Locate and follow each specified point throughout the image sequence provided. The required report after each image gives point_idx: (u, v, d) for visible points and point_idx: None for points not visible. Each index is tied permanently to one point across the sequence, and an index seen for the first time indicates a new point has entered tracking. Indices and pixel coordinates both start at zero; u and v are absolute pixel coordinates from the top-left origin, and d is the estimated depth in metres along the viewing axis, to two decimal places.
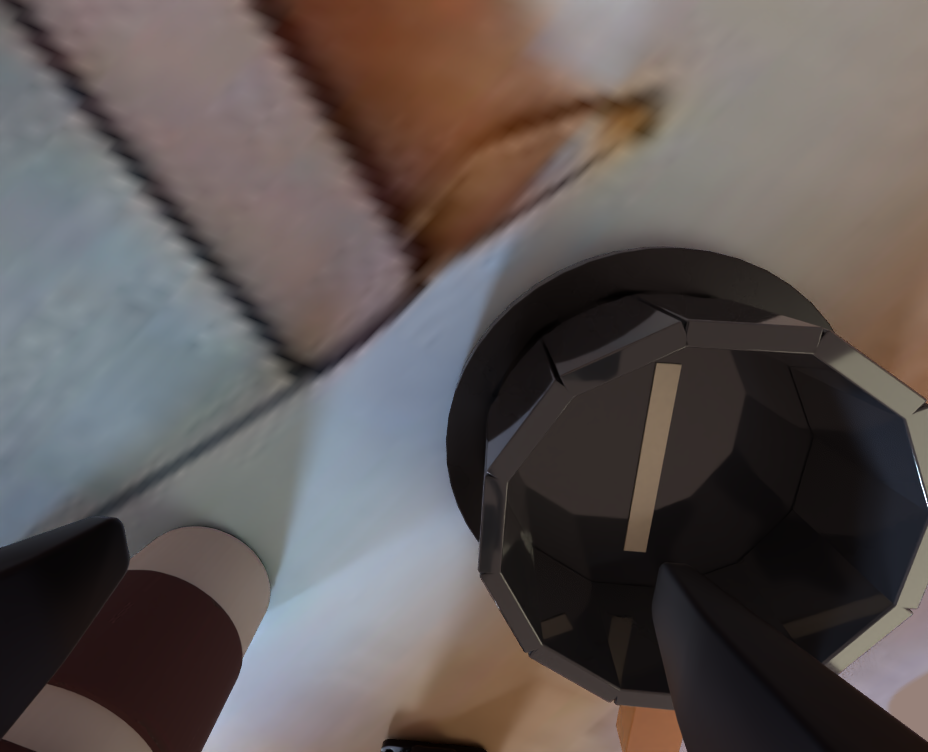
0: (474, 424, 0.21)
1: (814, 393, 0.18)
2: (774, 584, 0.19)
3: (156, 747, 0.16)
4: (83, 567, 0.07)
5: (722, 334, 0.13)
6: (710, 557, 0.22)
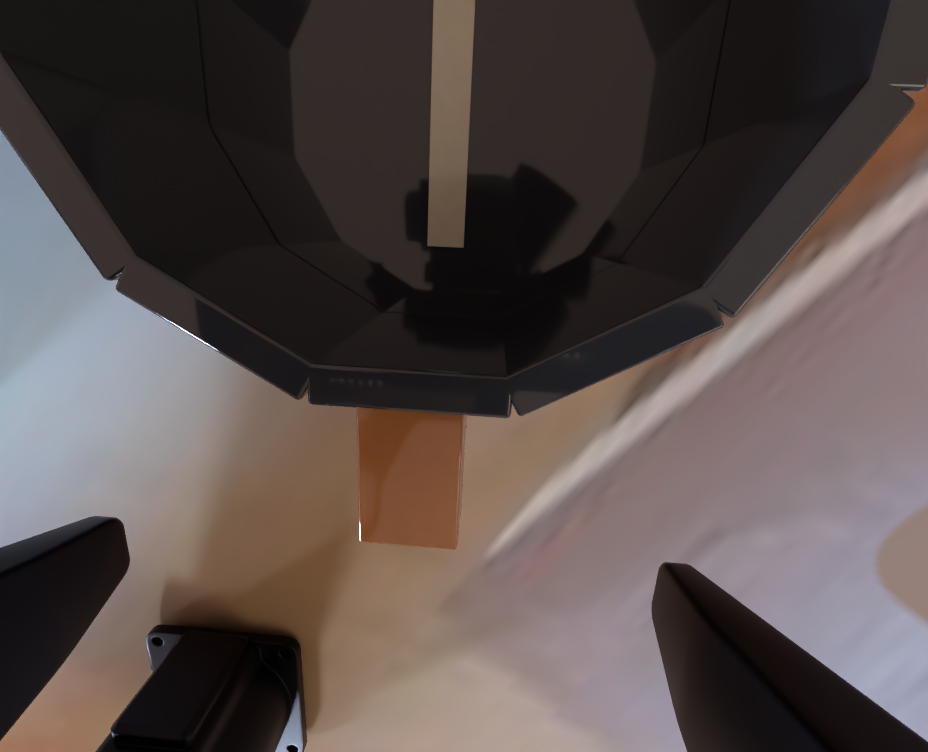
0: None
1: None
2: (659, 242, 0.11)
3: None
4: (83, 567, 0.07)
5: None
6: (571, 257, 0.13)
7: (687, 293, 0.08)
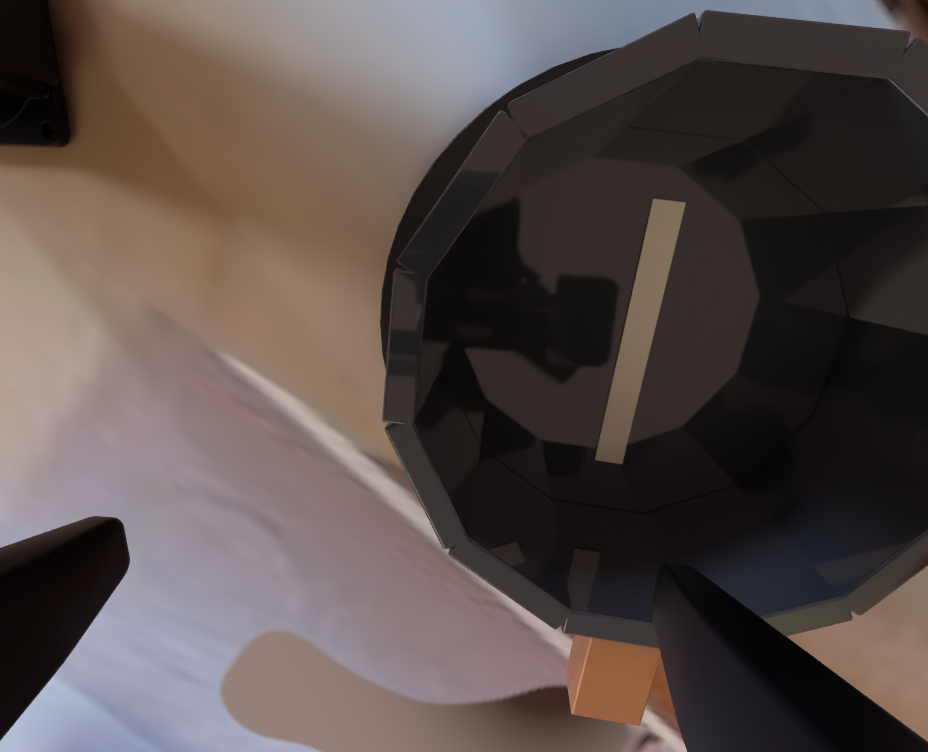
0: None
1: (860, 238, 0.13)
2: (785, 503, 0.15)
3: None
4: (83, 567, 0.07)
5: (755, 37, 0.09)
6: (703, 477, 0.17)
7: (831, 598, 0.12)
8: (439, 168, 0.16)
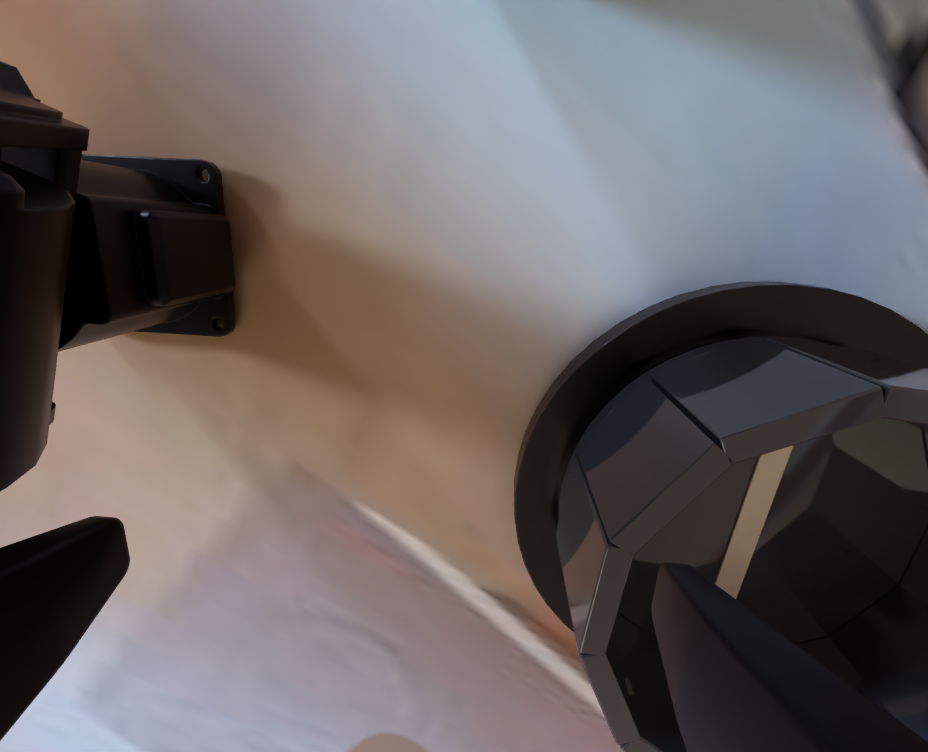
0: (812, 322, 0.17)
1: None
2: (882, 672, 0.17)
3: None
4: (83, 567, 0.07)
5: None
6: (798, 629, 0.20)
7: None
8: (581, 374, 0.18)
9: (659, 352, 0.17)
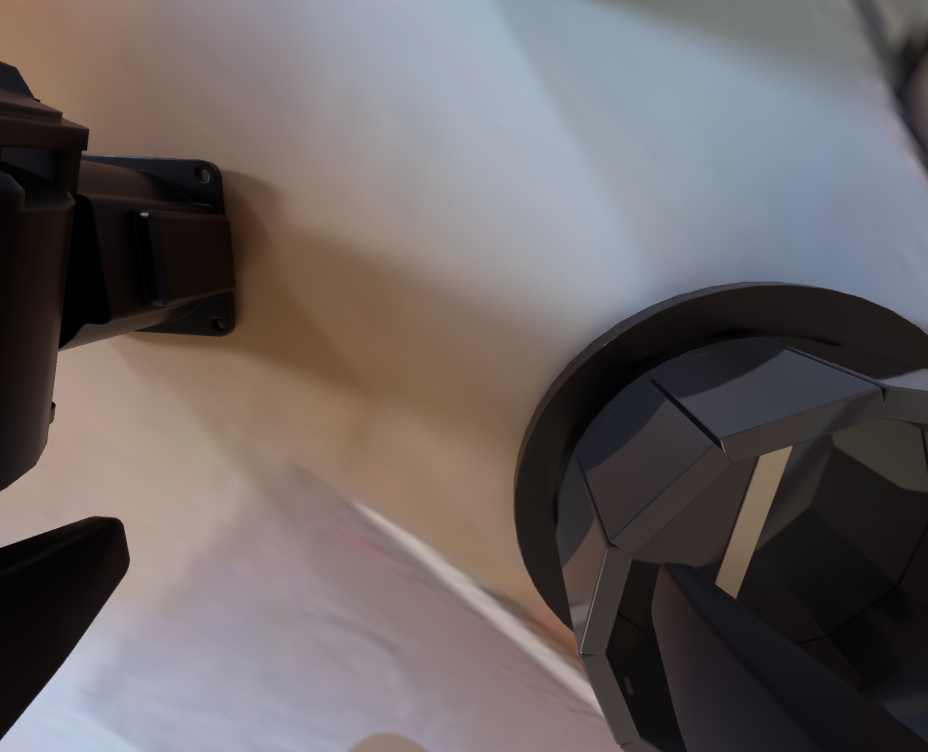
0: (812, 322, 0.17)
1: None
2: (882, 671, 0.17)
3: None
4: (83, 567, 0.07)
5: None
6: (798, 629, 0.20)
7: None
8: (581, 374, 0.18)
9: (659, 352, 0.17)
